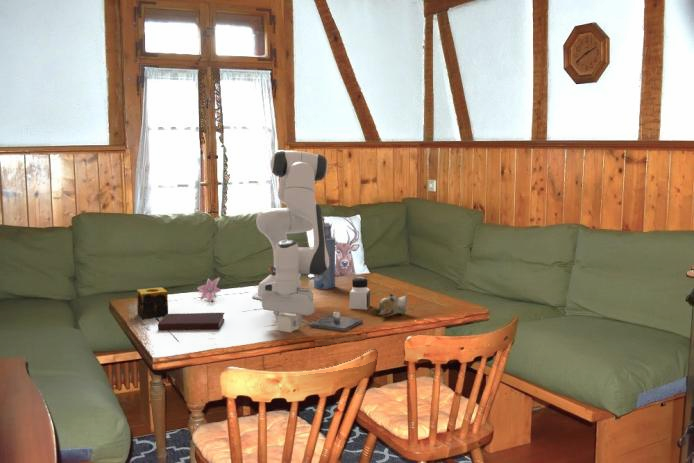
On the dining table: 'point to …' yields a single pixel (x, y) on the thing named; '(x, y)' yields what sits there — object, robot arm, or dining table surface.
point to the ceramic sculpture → (391, 306)
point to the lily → (209, 289)
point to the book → (191, 321)
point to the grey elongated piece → (328, 276)
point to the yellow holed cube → (152, 303)
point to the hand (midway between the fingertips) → (288, 324)
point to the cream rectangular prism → (286, 322)
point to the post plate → (336, 322)
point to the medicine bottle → (359, 294)
